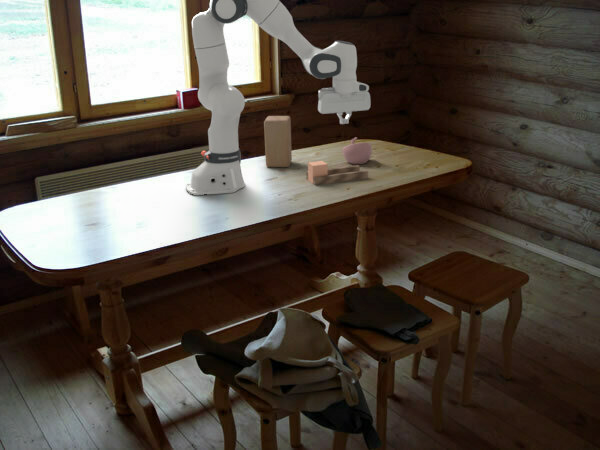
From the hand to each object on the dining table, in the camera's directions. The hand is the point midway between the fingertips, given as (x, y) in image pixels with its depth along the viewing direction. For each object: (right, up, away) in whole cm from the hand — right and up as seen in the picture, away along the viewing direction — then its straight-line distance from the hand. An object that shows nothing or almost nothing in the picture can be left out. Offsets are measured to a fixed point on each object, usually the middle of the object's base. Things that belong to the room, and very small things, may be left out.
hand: (344, 123), depth 244 cm
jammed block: (-10, -21, +4) cm, 24 cm away
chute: (-2, -21, +7) cm, 23 cm away
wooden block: (-26, -13, +31) cm, 42 cm away
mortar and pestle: (+7, -13, +28) cm, 32 cm away
